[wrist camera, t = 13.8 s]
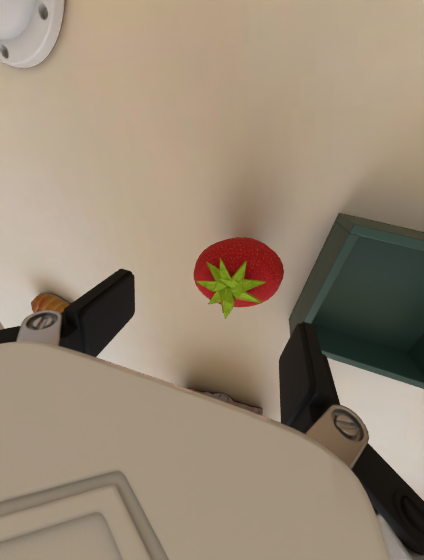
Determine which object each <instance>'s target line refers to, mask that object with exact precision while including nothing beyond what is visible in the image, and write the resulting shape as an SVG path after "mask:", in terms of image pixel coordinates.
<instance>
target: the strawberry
mask: <svg viewBox="0 0 424 560" xmlns="http://www.w3.org/2000/svg"><path fill="white" fill-rule="evenodd" d="M283 274H284V270H283V264H282V262H281V260H280V258H279V257H278V255H277V254H276V253H275V252H274V251H273V250H272V249H270V248H269V247H268V246H267V245H265V244H264V243H262V242H260V241H257V240H254V239H250V238H231V239H227V240H223V241H220V242H217V243H215V244H213V245H211V246H209V247H208V248H207V249H205V250H204V251H203V252H202V253H201V255H200V256H199V258H198V260H197V262H196V265H195V269H194V280H195V283H196V286H197V287H198V289H199V290H200V291H201V292H202V294H203V295H205V296H206V297H207V298H209V299H210V302H209V303H208V304H213V303H219V304H221V305H222V311H223V313H224V316H225V318H226V317H227V316H228V314H229V313H230V311H231V310H232V309H233V307H248V306H254V305H257V304H260V303H262V302H264V301H266V300H268V299H269V298H270V297H272V296H273V295H274V294H275V292H276V291H277V290H278V288H279V286H280V283H281V281H282V279H283Z"/></svg>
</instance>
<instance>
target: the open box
mask: <svg viewBox="0 0 424 560" xmlns="http://www.w3.org/2000/svg"><path fill="white" fill-rule="evenodd" d="M302 322H307V323H310V324H314V325H315V328H316V332H317V336H318V339H319V343H320V347H321V351H322V354H325V355H326V357H327V358H330V359H333V360H336V361H339V362H343V363H346V364H349V365H352V366H355V367H358V368H361V369H364V370H367V371H370V372H373V373H377V374H380V375H383V376H386V377H389V378H392V379H395V380H398V381H401V382H404V383H407V384H410V385H414V386H417V387H420V388H423V389H424V232H420V231H416V230H412V229H407V228H403V227H399V226H394V225H390V224H386V223H381V222H377V221H372V220H368V219H364V218H359V217H355V216H351V215H346V214H342V213H339V214H338V216H337V218H336V220H335V222H334V225H333V227H332V229H331V231H330V233H329V235H328V237H327V239H326V242H325V244H324V246H323V248H322V250H321V252H320V254H319V256H318V259H317V261H316V263H315V265H314V267H313V269H312V271H311V273H310V276H309V278H308V280H307V282H306V284H305V286H304V288H303V290H302V293H301V295H300V297H299V299H298V301H297V303H296V305H295V307H294V310H293V312H292V314H291V316H290V318H289V325H290V337H291V335H292V333H293V331H294V329H295V327H296V325H297V324H298V323H300V324H301V323H302Z"/></svg>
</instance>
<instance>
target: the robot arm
mask: <svg viewBox="0 0 424 560" xmlns="http://www.w3.org/2000/svg"><path fill="white" fill-rule="evenodd" d="M63 13H64V0H0V62H2V63H4V64H7V65H9V66H13V67H17V68H30V67H33V66H35V65H37V64H40V63H41V62H42V61H43V60H44V59H45V58H46V57H47V56H48V55H49V53H50V52H51V50H52V49H53V47H54V45H55V43H56V40H57V38H58V35H59V32H60V29H61V23H62V18H63ZM134 312H135V289H134V275H133V274H132V272H131V271H128V270H124V269H119V270H118V271H117V272H115V273H114V274H112V275H111V276H110V277H108V278H107V279H105V280H104V281H102V282H101V283H100V284H98V285H97V286H95V287H94V288H93V289H91V290H90V291H88V292H87V293H86V294H84V295H83V296H81V297H80V298H79V299H77V300H76V301H74V302H73V303H71V304H70V305H69V306H67V307H66V308H64V311H63V312H62V313H59V312H57V311H53V310H44V311H39V312H36V313H33V314H31V315H29V316H28V317H26V318H25V319H24V320H23V322H22V324H21V326H17V327H12V328H7V329H2V330H0V560H424V501H423V500H422V499H421V498H420V497H419V496H418V495H417V494H416V493H415V492H414V490H413V489H412V488H411V487H410V486H409V485H408V484H407V483H406V482H405V481H404V480H403V479H402V478H401V477H400V476H399V475H398V474H397V473H396V472H395V471H394V470H393V469H392V468H391V467H390V466H389V465H388V463H387V462H386V461H385V460H384V459H383V458H382V457H381V456H380V455H379V454H378V453H377V452H376V451H375V450H374V449H373V448H372V447H371V446H370V445H369V444H368V440H369V435H368V431H367V428H366V426H365V424H364V423H363V421H362V420H361V419H360V418H359V417H358V415H357V414H356V413H354V412H353V411H352V410H350V409H349V408H347V407H345V406H342V405H340V402H339V399H338V395H337V392H336V388H335V385H334V381H333V378H332V374H331V370H330V367H329V363H328V360H327V357H326V355H325V354H322V351H321V347H320V343H319V339H318V336H317V332H316V328H315V325H314V324H310V323H307V322H302V323H301V324H300V323H298V324H297V325H296V327H295V329H294V331H293V333H292V335H291V337H290V339H289V341H288V343H287V344H286V346H285V348H284V350H283V352H282V354H281V356H280V359H279V379H280V407H281V423H280V422H277V421H274V420H272V419H269V418H266V417H264V416H261V415H258V414H256V413H253V412H250V411H248V410H245V409H242V408H239V407H237V406H234V405H231V404H228V403H225V402H223V401H220V400H217V399H214V398H211V397H209V396H206V395H203V394H200V393H197V392H194V391H192V390H189V389H186V388H183V387H180V386H177V385H174V384H172V383H169V382H166V381H163V380H160V379H157V378H154V377H152V376H149V375H146V374H143V373H140V372H137V371H134V370H131V369H128V368H125V367H123V366H120V365H117V364H114V363H111V362H108V361H105V360H102V359H99V358H96V357H97V356H98V355H99V353H100V352H101V351H102V350H103V349H104V348H105V347H106V346H107V344H108V343H109V342H110V341H111V340H112V339H113V338H114V337H115V336H116V334H117V333H118V332H119V331H120V330H121V329H122V328H123V327H124V326H125V324H126V323H127V322H128V321H129V320H130V319H131V318H132V317H133V315H134Z"/></svg>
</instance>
